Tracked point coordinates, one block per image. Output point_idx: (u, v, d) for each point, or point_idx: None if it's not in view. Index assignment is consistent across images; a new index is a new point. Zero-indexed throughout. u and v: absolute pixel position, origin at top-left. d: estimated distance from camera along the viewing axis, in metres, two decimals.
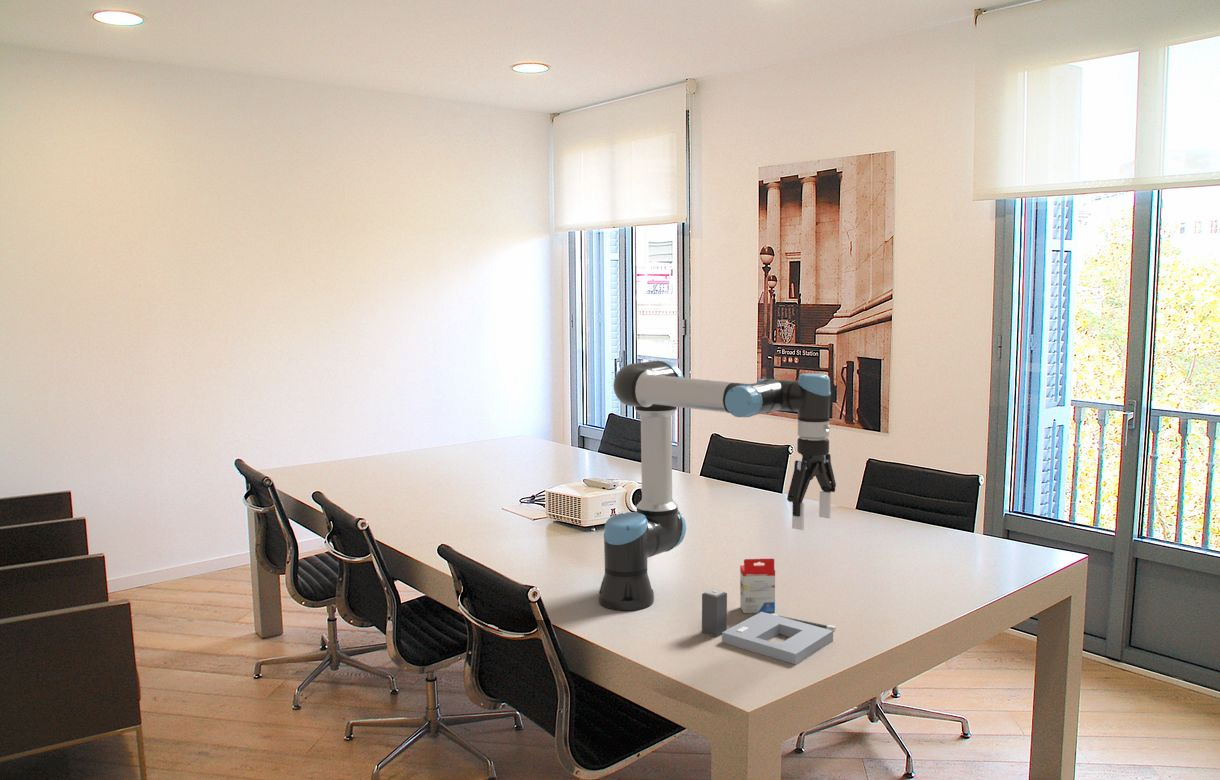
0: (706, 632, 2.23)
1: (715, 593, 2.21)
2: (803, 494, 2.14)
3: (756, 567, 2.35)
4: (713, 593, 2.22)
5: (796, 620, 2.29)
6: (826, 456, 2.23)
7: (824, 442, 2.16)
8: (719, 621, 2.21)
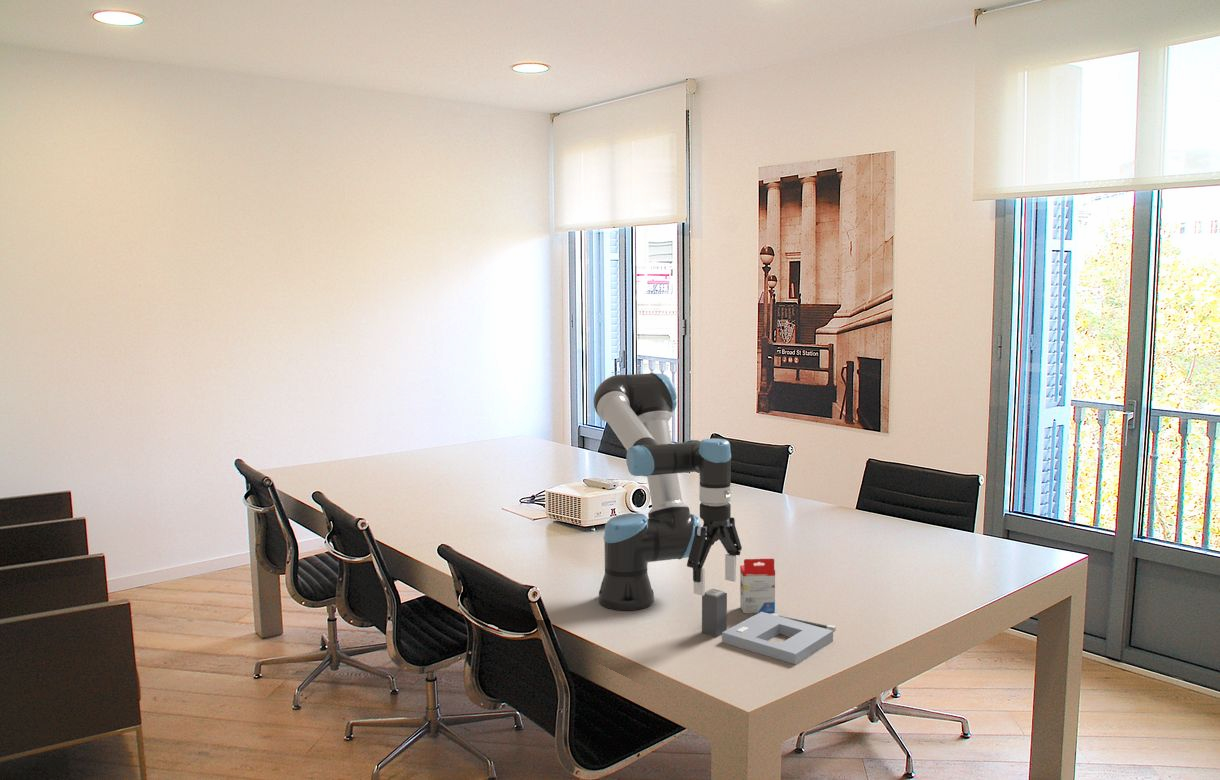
0: (706, 632, 2.23)
1: (715, 593, 2.21)
2: (703, 560, 2.15)
3: (756, 567, 2.35)
4: (713, 593, 2.21)
5: (796, 620, 2.29)
6: (730, 520, 2.24)
7: (724, 507, 2.17)
8: (719, 621, 2.21)
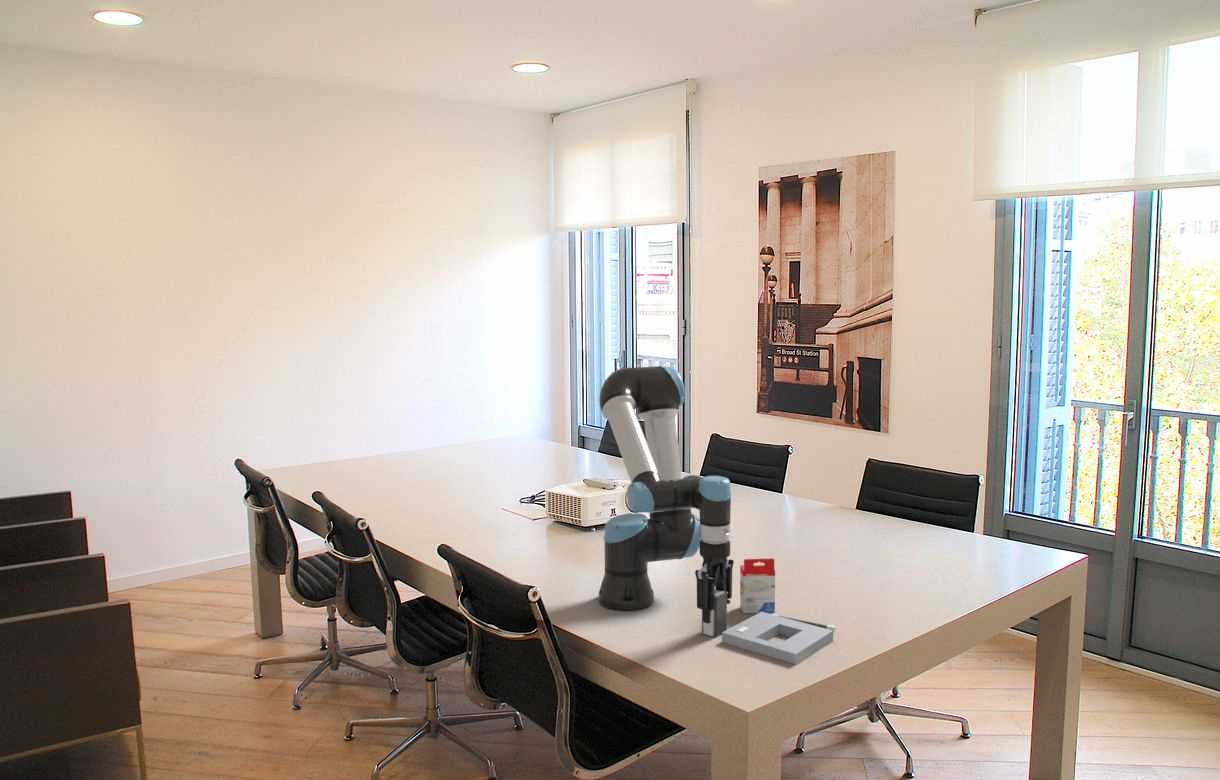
0: None
1: (715, 593, 2.21)
2: (711, 601, 2.20)
3: (756, 567, 2.35)
4: None
5: (796, 620, 2.29)
6: (729, 561, 2.25)
7: (724, 545, 2.18)
8: (719, 621, 2.21)
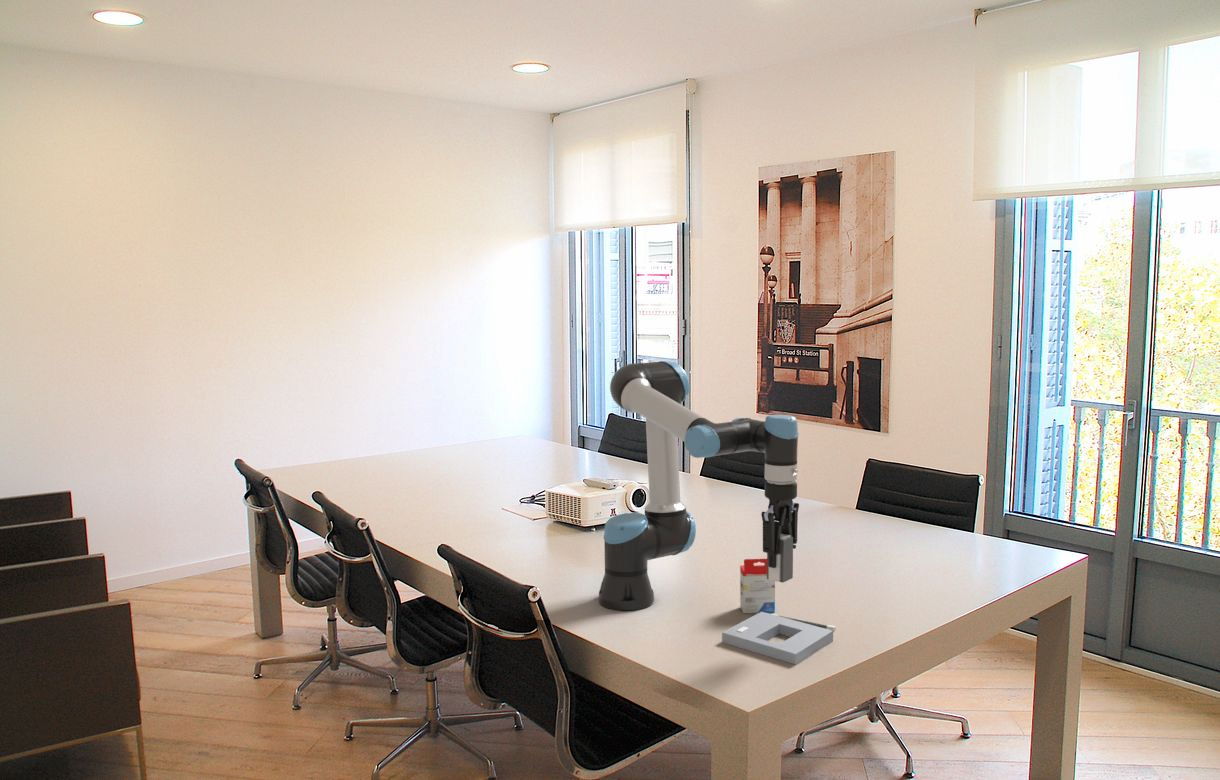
0: None
1: (781, 537, 2.12)
2: (777, 544, 2.10)
3: (756, 567, 2.35)
4: None
5: (796, 620, 2.29)
6: (795, 504, 2.16)
7: (791, 486, 2.09)
8: (785, 566, 2.12)
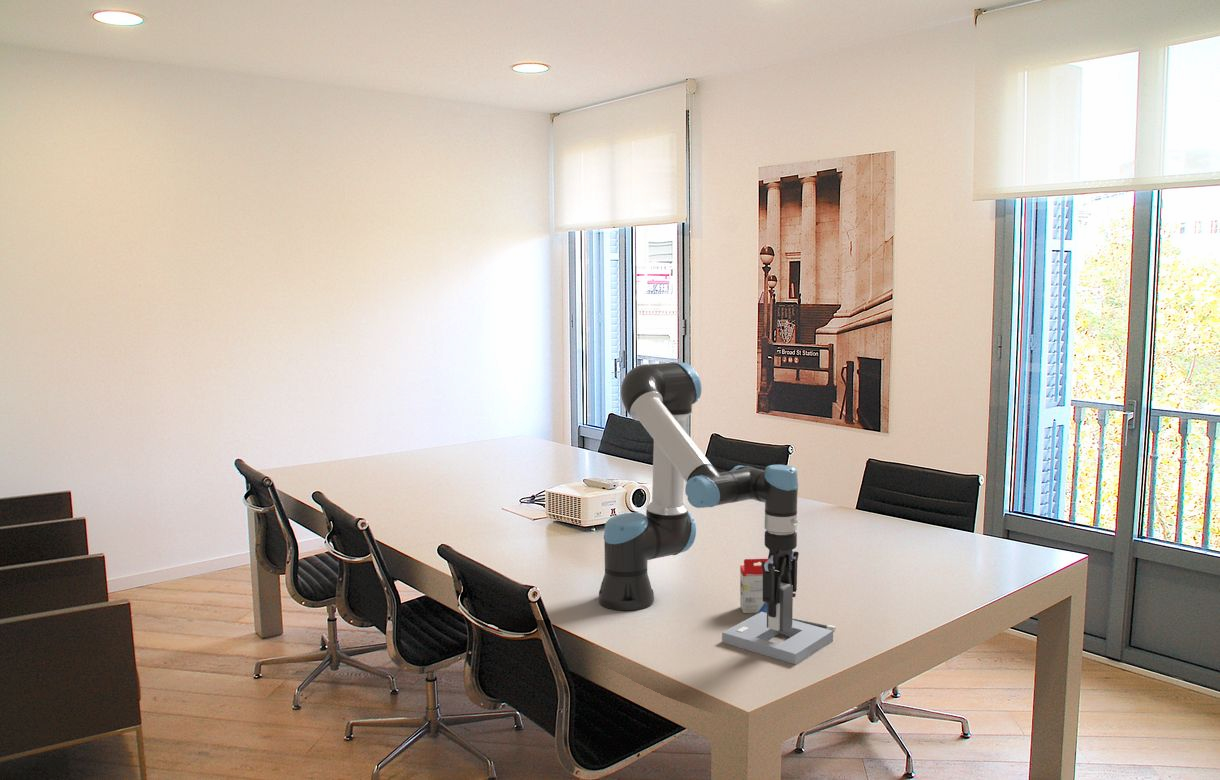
0: None
1: (781, 586, 2.14)
2: (777, 594, 2.12)
3: (756, 567, 2.35)
4: None
5: (796, 620, 2.29)
6: (794, 553, 2.18)
7: (791, 536, 2.10)
8: (785, 615, 2.13)
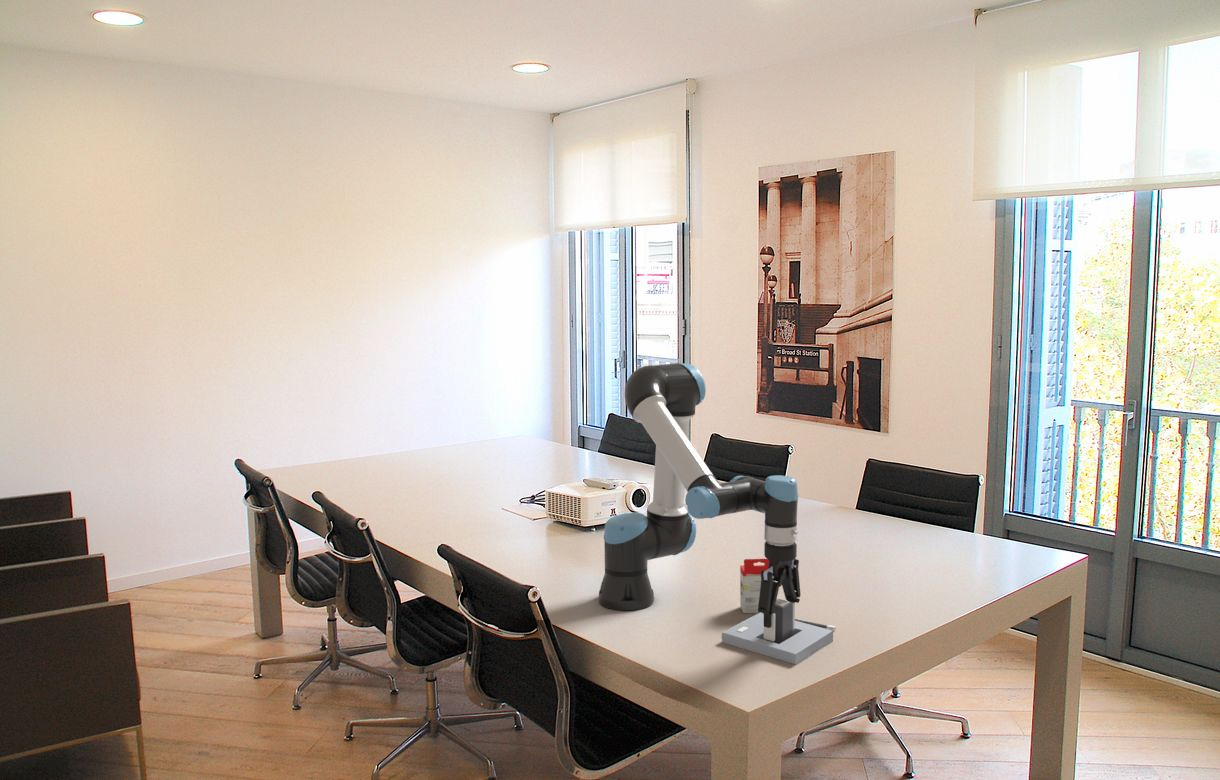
0: None
1: (780, 603, 2.14)
2: (773, 604, 2.11)
3: (756, 567, 2.35)
4: (778, 603, 2.14)
5: (796, 620, 2.29)
6: (794, 561, 2.18)
7: (791, 547, 2.10)
8: (785, 632, 2.14)
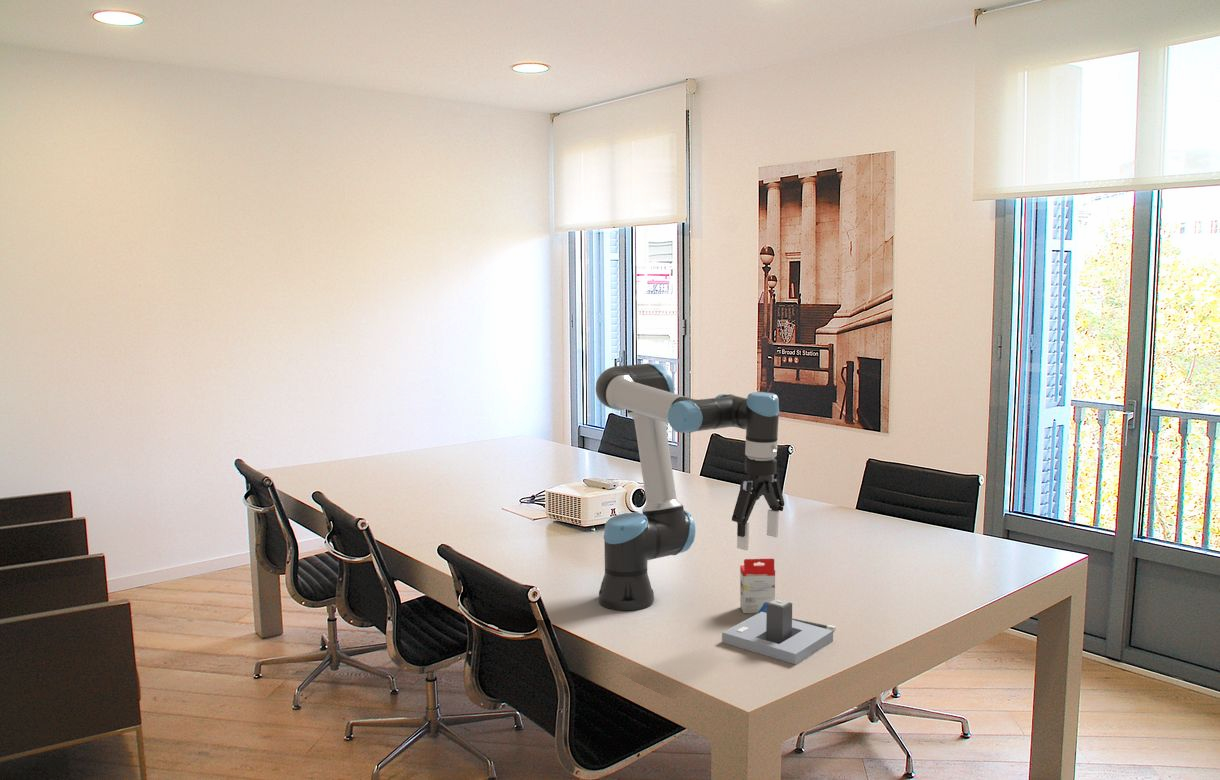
0: None
1: (780, 603, 2.14)
2: (748, 514, 2.13)
3: (756, 567, 2.35)
4: (778, 603, 2.14)
5: (796, 620, 2.29)
6: (774, 475, 2.21)
7: (771, 462, 2.14)
8: (785, 632, 2.14)
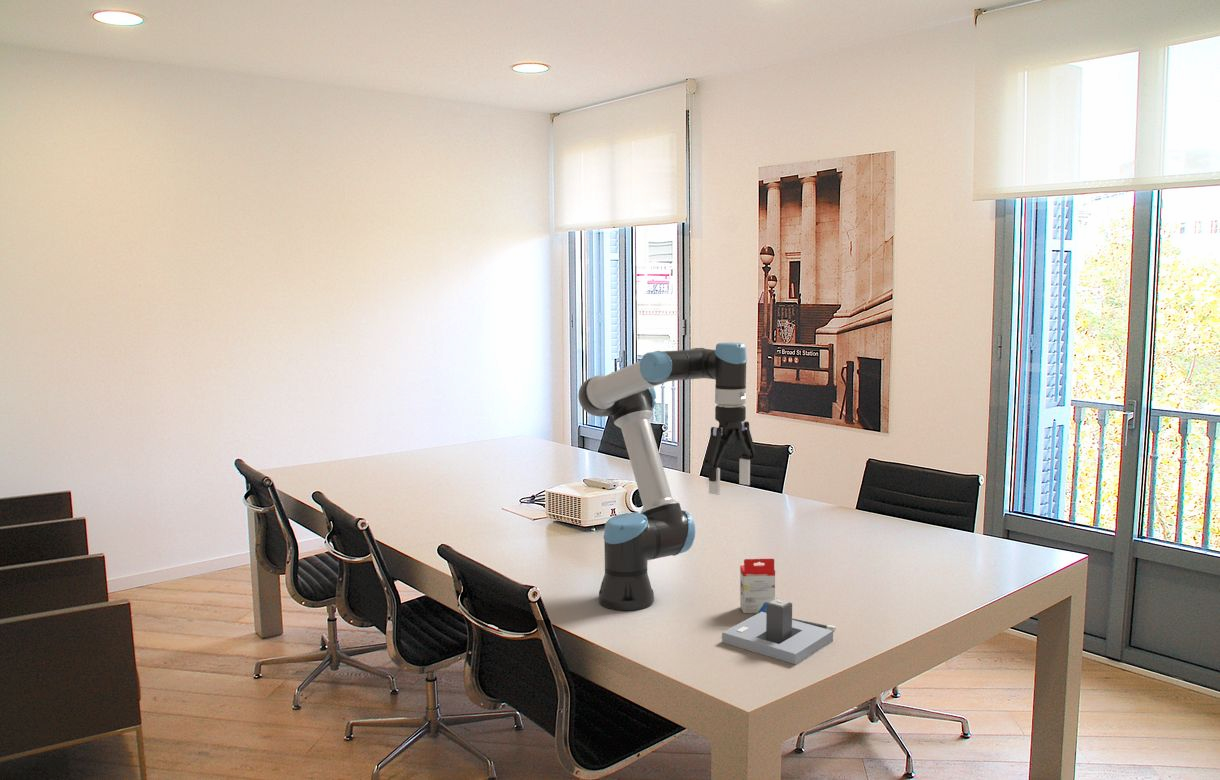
0: None
1: (780, 603, 2.14)
2: (719, 460, 2.20)
3: (756, 567, 2.35)
4: (778, 603, 2.14)
5: (796, 620, 2.29)
6: (745, 424, 2.28)
7: (740, 409, 2.21)
8: (785, 632, 2.14)
